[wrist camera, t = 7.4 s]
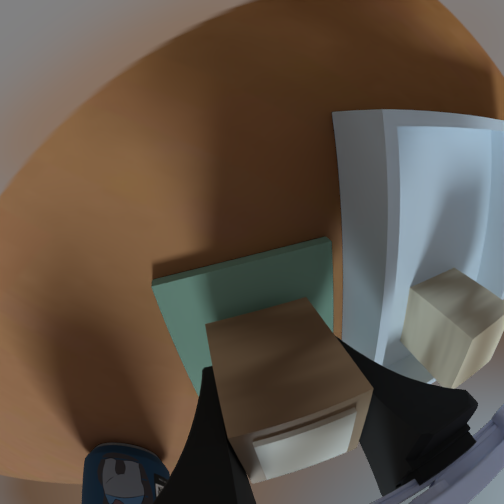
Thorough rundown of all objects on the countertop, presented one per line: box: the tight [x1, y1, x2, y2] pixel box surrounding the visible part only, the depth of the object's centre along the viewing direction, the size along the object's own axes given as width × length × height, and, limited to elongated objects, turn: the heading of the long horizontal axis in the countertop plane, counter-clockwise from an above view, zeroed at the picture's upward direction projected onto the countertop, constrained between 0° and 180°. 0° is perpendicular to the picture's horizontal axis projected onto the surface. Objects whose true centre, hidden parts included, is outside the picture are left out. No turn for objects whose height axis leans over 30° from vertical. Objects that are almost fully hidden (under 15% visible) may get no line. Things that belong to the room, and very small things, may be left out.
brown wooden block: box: [205, 297, 374, 483], centre depth 10 cm, size 4×4×6 cm
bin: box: [332, 109, 504, 384], centre depth 14 cm, size 13×17×4 cm
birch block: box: [400, 268, 504, 389], centre depth 14 cm, size 4×4×6 cm
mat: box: [151, 237, 333, 396], centre depth 14 cm, size 8×8×1 cm
